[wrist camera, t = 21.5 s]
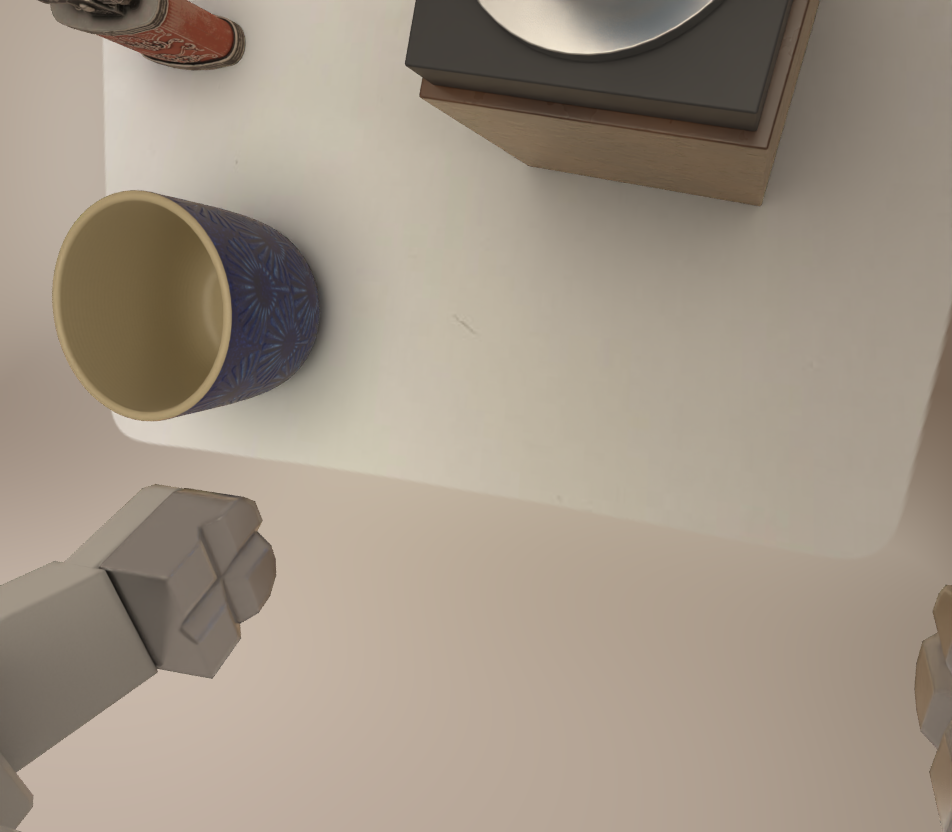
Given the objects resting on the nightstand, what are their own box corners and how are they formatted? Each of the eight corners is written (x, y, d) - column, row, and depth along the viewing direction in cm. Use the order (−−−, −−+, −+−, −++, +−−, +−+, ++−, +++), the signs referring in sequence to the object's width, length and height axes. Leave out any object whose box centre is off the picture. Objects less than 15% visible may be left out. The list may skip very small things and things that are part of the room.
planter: (166, 348, 53) (29, 358, 43) (219, 184, 50) (82, 152, 39) (301, 430, 50) (187, 462, 40) (367, 261, 46) (261, 248, 36)
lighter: (246, 15, 47) (123, -56, 38) (243, 72, 48) (121, 15, 38) (147, 15, 50) (9, -52, 40) (146, 68, 50) (9, 15, 41)
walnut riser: (839, -68, 35) (898, -310, 21) (760, 206, 38) (767, 150, 24) (580, -84, 39) (488, -298, 25) (527, 165, 42) (418, 97, 28)
